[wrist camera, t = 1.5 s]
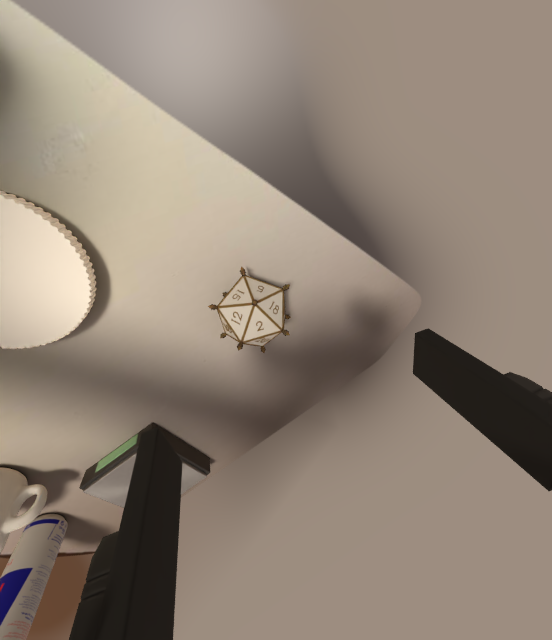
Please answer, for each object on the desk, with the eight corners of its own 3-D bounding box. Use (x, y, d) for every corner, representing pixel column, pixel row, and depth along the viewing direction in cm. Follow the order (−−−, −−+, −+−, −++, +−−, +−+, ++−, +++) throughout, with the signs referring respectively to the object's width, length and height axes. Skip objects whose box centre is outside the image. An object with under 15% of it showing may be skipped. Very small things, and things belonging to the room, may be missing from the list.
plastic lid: (-81, 325, 24) (-108, 338, 22) (-118, 157, 19) (-158, 153, 17) (96, 343, 29) (88, 356, 27) (103, 215, 24) (94, 218, 22)
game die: (256, 286, 36) (319, 320, 31) (216, 335, 34) (275, 380, 29) (229, 240, 28) (307, 278, 23) (175, 302, 26) (247, 355, 21)
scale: (84, 470, 37) (78, 488, 35) (152, 421, 36) (149, 436, 34) (151, 499, 43) (148, 515, 41) (209, 458, 42) (210, 472, 40)
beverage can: (25, 514, 37) (-64, 686, 25) (68, 508, 39) (6, 666, 26) (30, 534, 40) (-48, 703, 27) (71, 528, 41) (16, 684, 28)
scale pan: (84, 487, 35) (82, 492, 34) (150, 440, 34) (149, 444, 34) (149, 513, 41) (148, 517, 40) (206, 473, 40) (206, 476, 40)
